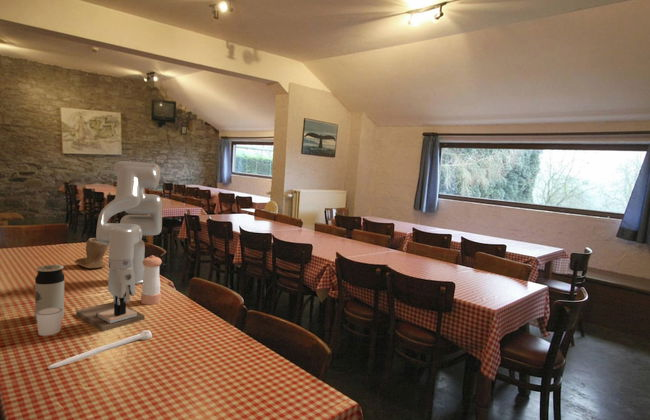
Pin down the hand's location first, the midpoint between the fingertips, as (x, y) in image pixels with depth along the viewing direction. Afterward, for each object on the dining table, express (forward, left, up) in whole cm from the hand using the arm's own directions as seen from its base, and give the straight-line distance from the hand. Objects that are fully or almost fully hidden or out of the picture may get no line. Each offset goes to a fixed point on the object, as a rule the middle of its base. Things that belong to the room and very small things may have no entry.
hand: (119, 314), depth 125 cm
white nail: (+12, +17, -4) cm, 21 cm away
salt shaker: (-18, -12, -3) cm, 22 cm away
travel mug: (+14, -20, -3) cm, 24 cm away
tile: (0, -2, 0) cm, 2 cm away
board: (0, -7, -3) cm, 8 cm away
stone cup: (-24, -78, -3) cm, 82 cm away
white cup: (+18, -8, -3) cm, 20 cm away
